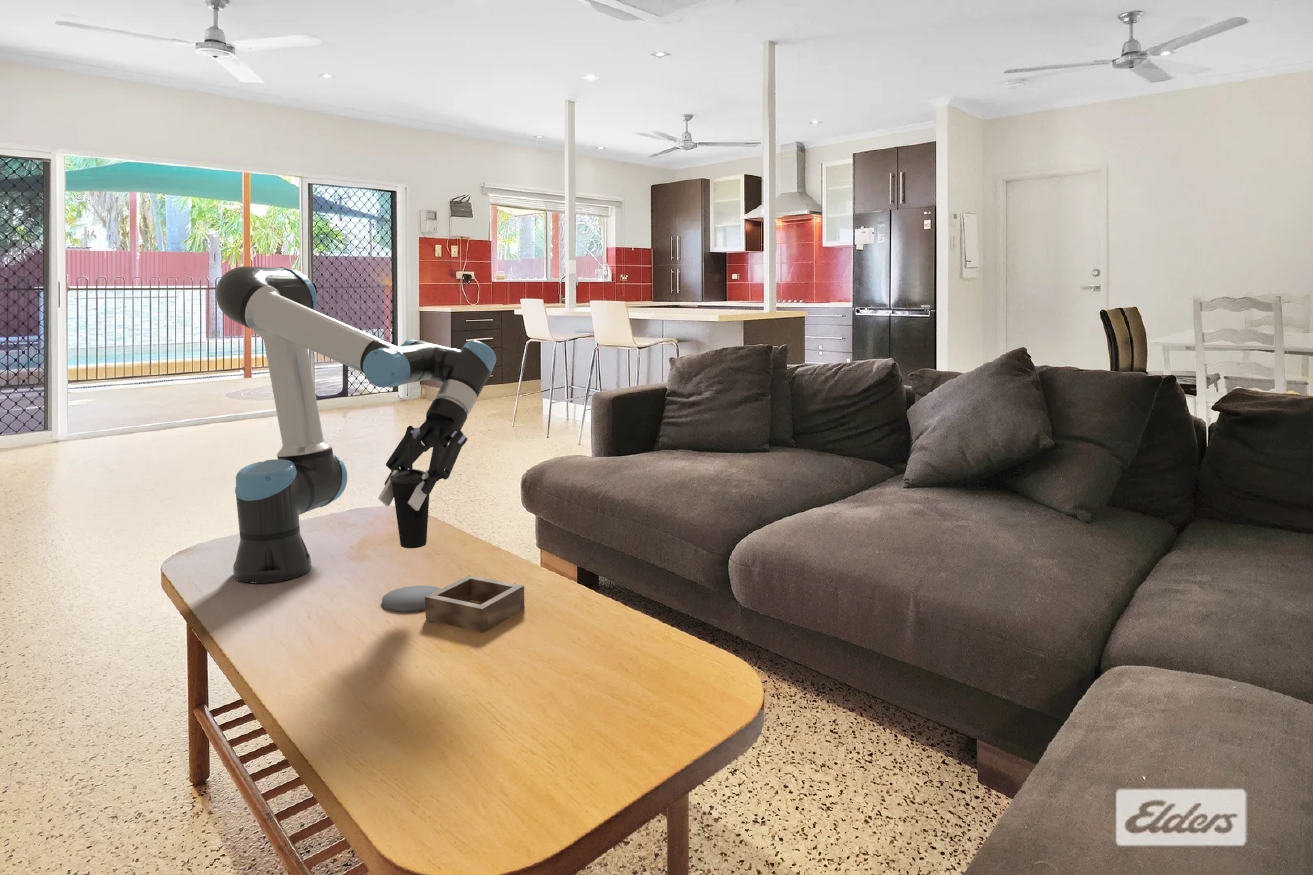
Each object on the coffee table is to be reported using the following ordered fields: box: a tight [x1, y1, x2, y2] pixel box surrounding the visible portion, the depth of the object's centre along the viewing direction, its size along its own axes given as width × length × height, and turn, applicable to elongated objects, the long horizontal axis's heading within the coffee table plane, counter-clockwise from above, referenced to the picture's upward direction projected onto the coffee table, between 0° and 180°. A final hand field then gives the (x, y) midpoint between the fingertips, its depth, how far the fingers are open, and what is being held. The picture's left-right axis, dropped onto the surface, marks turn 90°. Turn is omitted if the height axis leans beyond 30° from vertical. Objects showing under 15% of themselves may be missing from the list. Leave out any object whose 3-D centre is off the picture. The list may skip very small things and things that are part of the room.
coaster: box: [381, 585, 442, 613], centre depth 162 cm, size 12×12×1 cm
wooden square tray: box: [424, 574, 525, 634], centre depth 156 cm, size 13×13×4 cm
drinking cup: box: [390, 443, 430, 549], centre depth 159 cm, size 8×8×20 cm
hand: (398, 504), depth 156 cm, fingers closed on drinking cup, 6 cm apart
